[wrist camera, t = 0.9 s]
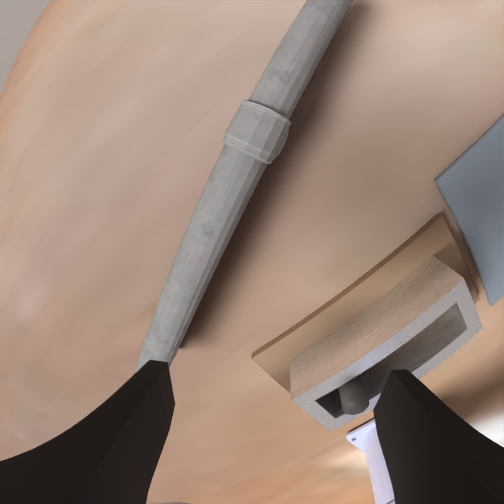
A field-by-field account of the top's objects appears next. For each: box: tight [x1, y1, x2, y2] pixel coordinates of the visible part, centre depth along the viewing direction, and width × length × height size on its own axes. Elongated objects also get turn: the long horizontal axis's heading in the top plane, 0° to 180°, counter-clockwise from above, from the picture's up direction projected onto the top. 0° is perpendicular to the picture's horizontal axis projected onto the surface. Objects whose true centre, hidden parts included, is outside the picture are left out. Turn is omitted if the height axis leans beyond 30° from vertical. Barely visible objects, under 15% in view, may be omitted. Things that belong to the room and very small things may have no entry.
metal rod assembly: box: [135, 0, 352, 372], centre depth 15 cm, size 26×3×5 cm, turn 154°
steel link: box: [290, 255, 482, 431], centre depth 17 cm, size 4×12×4 cm, turn 131°
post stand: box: [251, 214, 479, 415], centre depth 17 cm, size 8×16×6 cm, turn 131°
